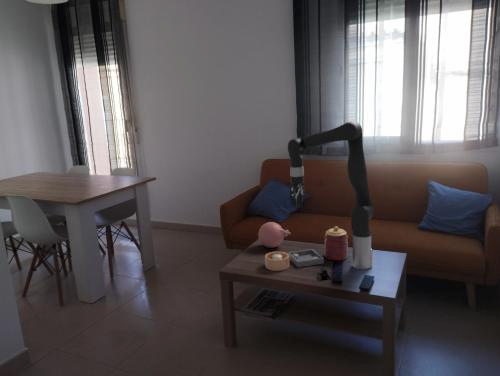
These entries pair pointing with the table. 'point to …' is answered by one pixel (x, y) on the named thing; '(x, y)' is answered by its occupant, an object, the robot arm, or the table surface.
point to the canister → (336, 244)
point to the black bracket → (323, 275)
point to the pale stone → (277, 257)
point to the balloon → (272, 234)
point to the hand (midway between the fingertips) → (297, 203)
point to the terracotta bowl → (277, 261)
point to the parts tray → (306, 258)
